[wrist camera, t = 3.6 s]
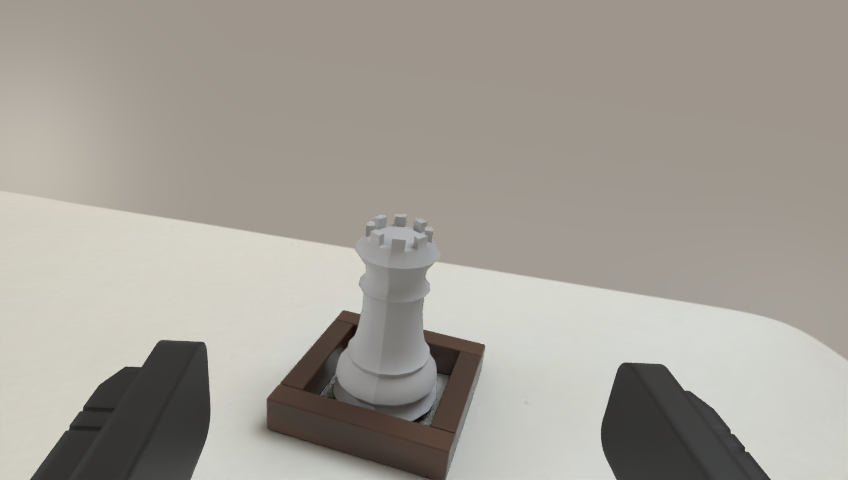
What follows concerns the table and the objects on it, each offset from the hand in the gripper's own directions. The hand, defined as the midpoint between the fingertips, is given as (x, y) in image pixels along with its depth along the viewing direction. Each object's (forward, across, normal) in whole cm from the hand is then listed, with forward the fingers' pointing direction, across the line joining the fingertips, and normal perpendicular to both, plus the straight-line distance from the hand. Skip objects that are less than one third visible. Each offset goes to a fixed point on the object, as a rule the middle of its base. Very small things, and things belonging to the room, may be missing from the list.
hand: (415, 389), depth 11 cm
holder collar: (+11, 0, +9) cm, 14 cm away
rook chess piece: (+11, 0, +9) cm, 14 cm away
